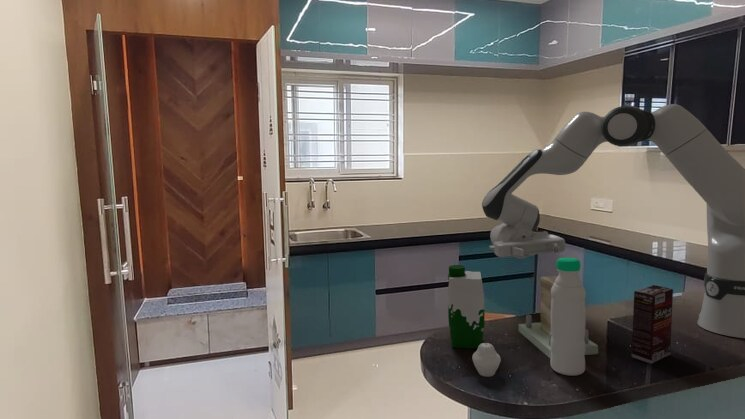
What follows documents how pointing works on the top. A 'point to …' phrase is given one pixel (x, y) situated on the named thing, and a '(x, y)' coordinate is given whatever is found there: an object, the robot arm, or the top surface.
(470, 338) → the milk carton
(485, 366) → the white bulb shape
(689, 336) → the top surface
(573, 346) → the water bottle
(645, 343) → the supplement box
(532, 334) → the peg rest
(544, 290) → the upright wooden block
